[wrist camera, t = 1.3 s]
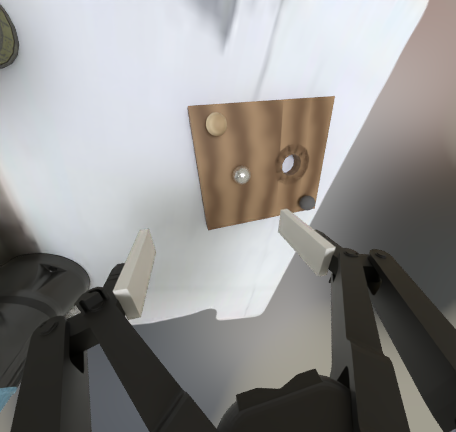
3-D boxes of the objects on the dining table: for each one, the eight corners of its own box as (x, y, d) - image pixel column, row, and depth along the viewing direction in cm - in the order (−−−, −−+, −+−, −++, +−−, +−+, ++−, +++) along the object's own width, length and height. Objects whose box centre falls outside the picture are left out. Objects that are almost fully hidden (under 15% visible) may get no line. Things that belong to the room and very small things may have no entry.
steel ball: (231, 182, 35) (236, 187, 32) (230, 165, 33) (235, 169, 30) (247, 180, 36) (253, 184, 33) (246, 163, 34) (253, 166, 31)
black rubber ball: (295, 207, 42) (304, 213, 39) (296, 194, 41) (306, 200, 38) (307, 205, 43) (317, 211, 40) (309, 192, 41) (320, 197, 38)
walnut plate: (206, 224, 41) (208, 230, 39) (187, 107, 29) (188, 106, 27) (308, 204, 46) (314, 208, 44) (325, 98, 35) (334, 96, 32)
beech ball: (206, 136, 30) (209, 137, 27) (203, 113, 28) (205, 112, 25) (225, 134, 31) (230, 135, 28) (223, 112, 29) (228, 110, 26)
